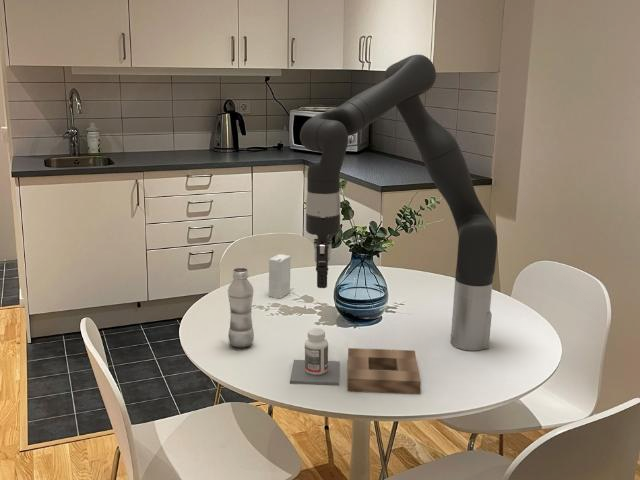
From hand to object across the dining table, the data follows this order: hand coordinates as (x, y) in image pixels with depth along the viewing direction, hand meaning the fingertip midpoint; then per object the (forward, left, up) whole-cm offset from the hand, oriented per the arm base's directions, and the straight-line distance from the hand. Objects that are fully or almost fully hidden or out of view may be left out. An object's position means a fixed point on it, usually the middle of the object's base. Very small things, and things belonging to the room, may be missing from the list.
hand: (322, 281), depth 160 cm
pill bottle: (+1, +1, -22) cm, 22 cm away
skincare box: (+15, -50, -23) cm, 57 cm away
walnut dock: (-14, +1, -22) cm, 27 cm away
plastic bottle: (+21, -13, -23) cm, 33 cm away
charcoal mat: (+1, +1, -22) cm, 22 cm away
